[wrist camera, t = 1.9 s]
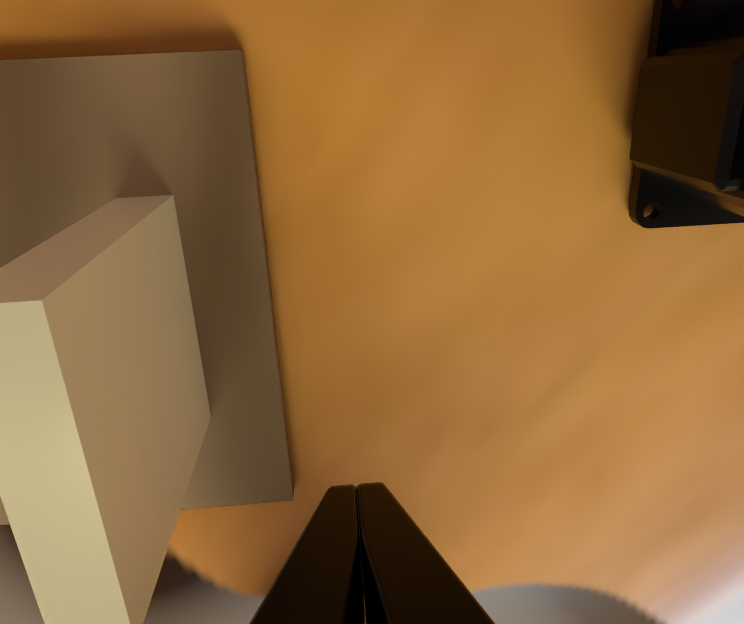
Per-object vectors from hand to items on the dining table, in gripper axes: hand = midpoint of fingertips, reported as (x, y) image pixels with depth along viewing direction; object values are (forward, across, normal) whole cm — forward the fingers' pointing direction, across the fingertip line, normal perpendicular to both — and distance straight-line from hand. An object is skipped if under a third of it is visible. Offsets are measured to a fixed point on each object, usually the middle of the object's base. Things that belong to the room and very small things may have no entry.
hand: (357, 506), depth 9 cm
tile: (+9, +5, 0) cm, 10 cm away
